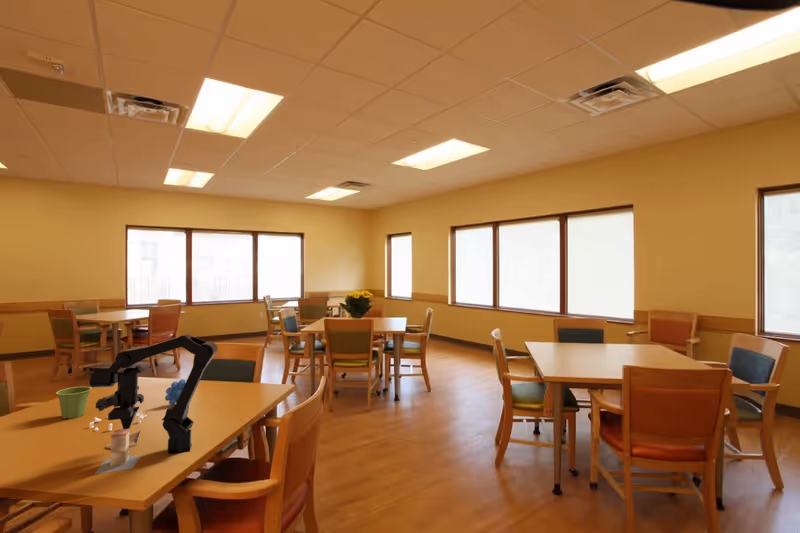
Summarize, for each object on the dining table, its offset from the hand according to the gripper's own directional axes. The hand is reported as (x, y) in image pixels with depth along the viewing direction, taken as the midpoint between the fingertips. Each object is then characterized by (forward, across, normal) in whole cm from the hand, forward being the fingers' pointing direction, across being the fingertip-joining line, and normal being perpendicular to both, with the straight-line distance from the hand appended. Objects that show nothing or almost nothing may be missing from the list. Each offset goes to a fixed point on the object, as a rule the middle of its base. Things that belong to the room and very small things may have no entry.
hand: (126, 431), depth 132 cm
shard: (+9, -10, -3) cm, 14 cm away
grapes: (+8, -52, +9) cm, 53 cm away
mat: (+8, +8, 0) cm, 11 cm away
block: (+8, +7, 0) cm, 10 cm away
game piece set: (+9, -35, -11) cm, 38 cm away
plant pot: (+8, -50, -31) cm, 59 cm away
